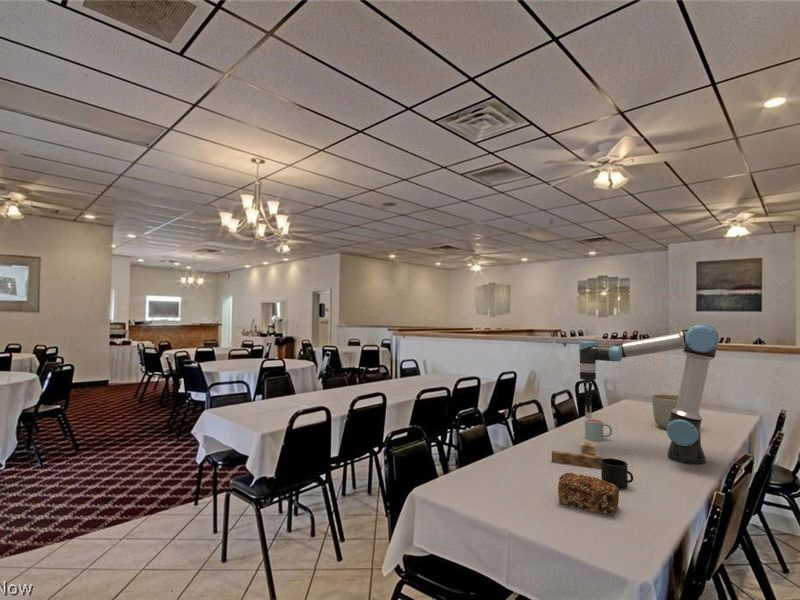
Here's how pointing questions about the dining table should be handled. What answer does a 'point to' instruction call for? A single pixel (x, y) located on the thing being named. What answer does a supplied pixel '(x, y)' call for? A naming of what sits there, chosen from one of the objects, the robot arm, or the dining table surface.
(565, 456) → the board
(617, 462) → the mug
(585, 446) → the block
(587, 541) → the dining table surface
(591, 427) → the mug
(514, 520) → the dining table surface
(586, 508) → the bread
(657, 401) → the planter
